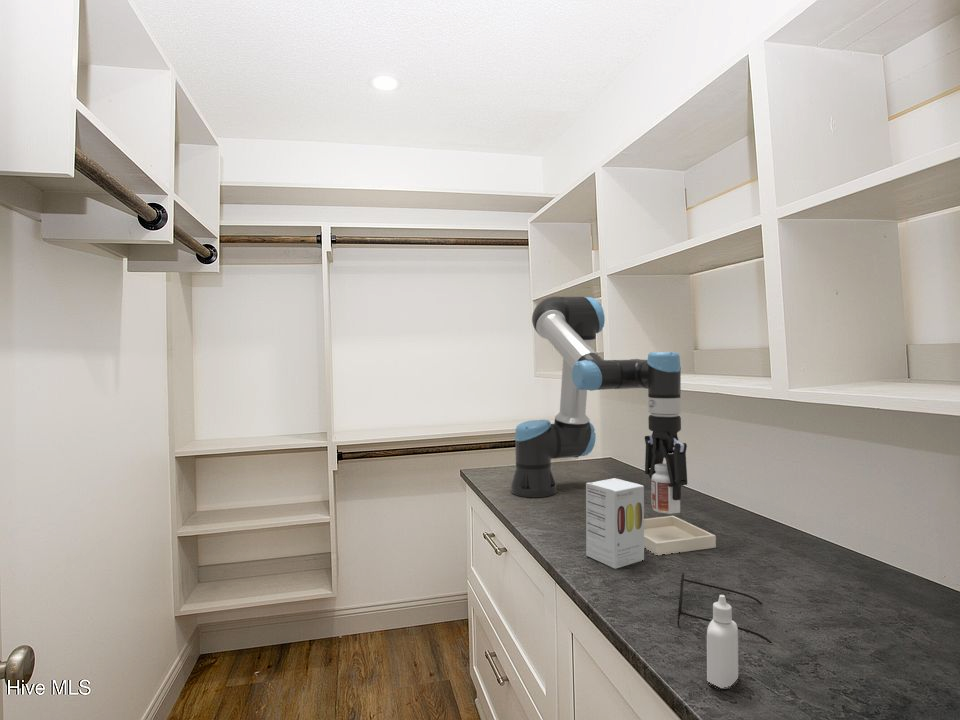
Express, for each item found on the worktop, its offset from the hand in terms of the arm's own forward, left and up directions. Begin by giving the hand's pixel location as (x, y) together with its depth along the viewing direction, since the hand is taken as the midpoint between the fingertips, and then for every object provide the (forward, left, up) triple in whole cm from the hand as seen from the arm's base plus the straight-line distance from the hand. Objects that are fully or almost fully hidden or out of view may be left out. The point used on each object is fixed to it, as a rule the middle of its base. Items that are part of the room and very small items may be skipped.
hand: (665, 508), depth 130 cm
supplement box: (+6, -18, -8) cm, 20 cm away
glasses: (+35, -13, -9) cm, 38 cm away
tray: (0, 0, -8) cm, 8 cm away
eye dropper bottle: (+50, -26, -8) cm, 57 cm away
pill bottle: (0, 0, -1) cm, 1 cm away
